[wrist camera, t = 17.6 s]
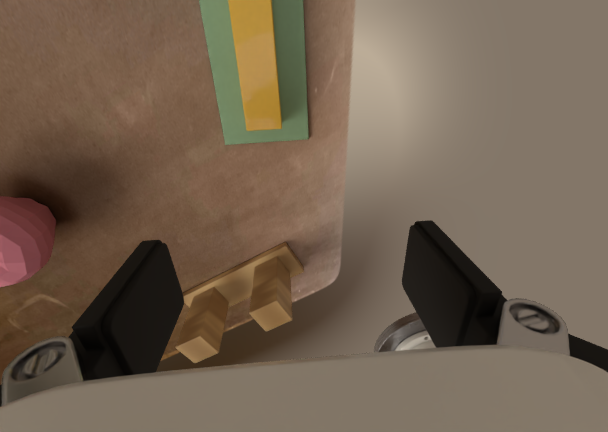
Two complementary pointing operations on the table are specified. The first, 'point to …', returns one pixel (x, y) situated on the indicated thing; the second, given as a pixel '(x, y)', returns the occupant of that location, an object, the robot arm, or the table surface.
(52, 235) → the apple
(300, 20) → the mat
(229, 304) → the light wood u-shaped piece
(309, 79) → the table surface
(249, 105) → the bar
